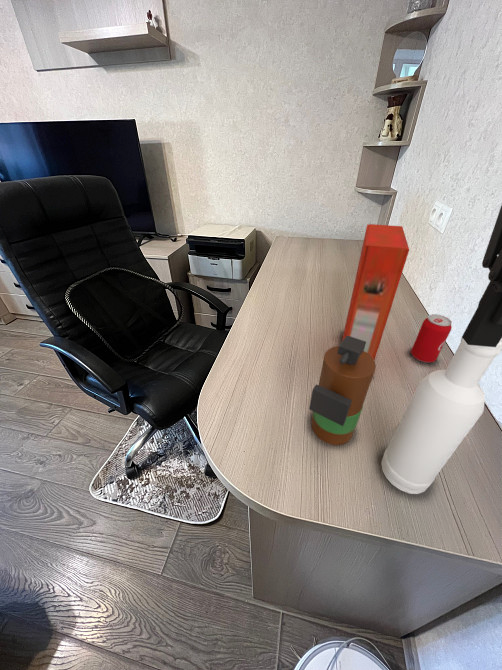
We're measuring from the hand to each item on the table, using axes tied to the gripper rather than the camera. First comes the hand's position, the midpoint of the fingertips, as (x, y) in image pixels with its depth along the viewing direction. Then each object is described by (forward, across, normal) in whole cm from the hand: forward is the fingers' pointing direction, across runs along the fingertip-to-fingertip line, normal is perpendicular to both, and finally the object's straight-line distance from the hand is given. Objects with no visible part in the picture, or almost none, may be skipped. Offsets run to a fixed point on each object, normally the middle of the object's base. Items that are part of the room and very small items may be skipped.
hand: (478, 341), depth 30 cm
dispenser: (+30, -10, -10) cm, 34 cm away
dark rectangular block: (+20, -4, -13) cm, 24 cm away
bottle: (+31, -2, +2) cm, 31 cm away
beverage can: (+31, -37, +16) cm, 51 cm away
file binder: (+31, -36, -2) cm, 47 cm away
